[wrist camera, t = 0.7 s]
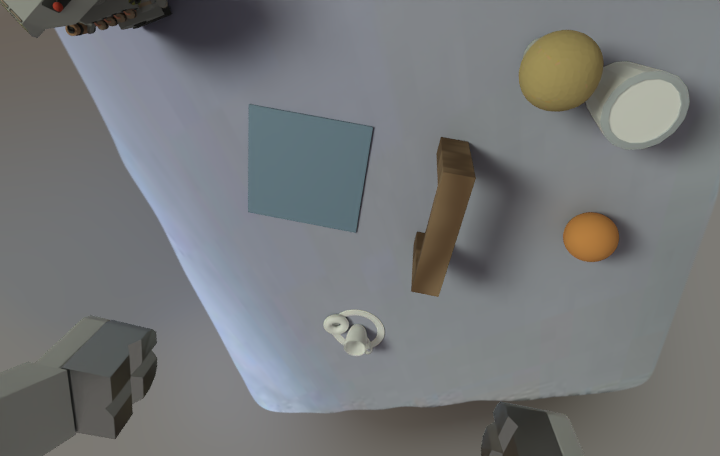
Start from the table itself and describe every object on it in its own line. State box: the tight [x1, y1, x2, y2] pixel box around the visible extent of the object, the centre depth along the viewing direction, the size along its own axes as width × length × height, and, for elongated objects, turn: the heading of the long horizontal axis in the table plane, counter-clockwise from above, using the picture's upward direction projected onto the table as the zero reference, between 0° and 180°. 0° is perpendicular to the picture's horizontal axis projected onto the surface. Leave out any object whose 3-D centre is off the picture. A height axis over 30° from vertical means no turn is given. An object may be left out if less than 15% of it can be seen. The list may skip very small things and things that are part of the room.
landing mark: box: [248, 104, 373, 233], centre depth 52 cm, size 14×14×1 cm
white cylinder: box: [585, 61, 690, 150], centre depth 41 cm, size 7×7×7 cm
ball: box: [563, 212, 619, 262], centre depth 49 cm, size 6×6×6 cm
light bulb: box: [519, 30, 603, 111], centre depth 38 cm, size 6×6×10 cm
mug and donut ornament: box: [324, 310, 385, 356], centre depth 64 cm, size 9×8×4 cm
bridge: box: [411, 137, 476, 297], centre depth 48 cm, size 3×14×9 cm, turn 172°
